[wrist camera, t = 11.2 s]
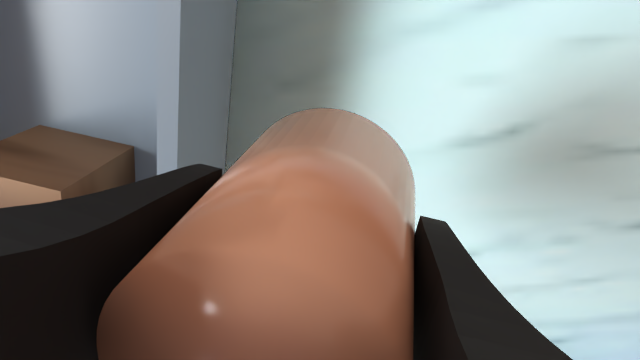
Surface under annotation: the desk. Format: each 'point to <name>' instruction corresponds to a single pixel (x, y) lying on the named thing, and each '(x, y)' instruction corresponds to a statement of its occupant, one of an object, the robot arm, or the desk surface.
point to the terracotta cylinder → (282, 256)
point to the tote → (122, 75)
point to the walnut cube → (60, 166)
